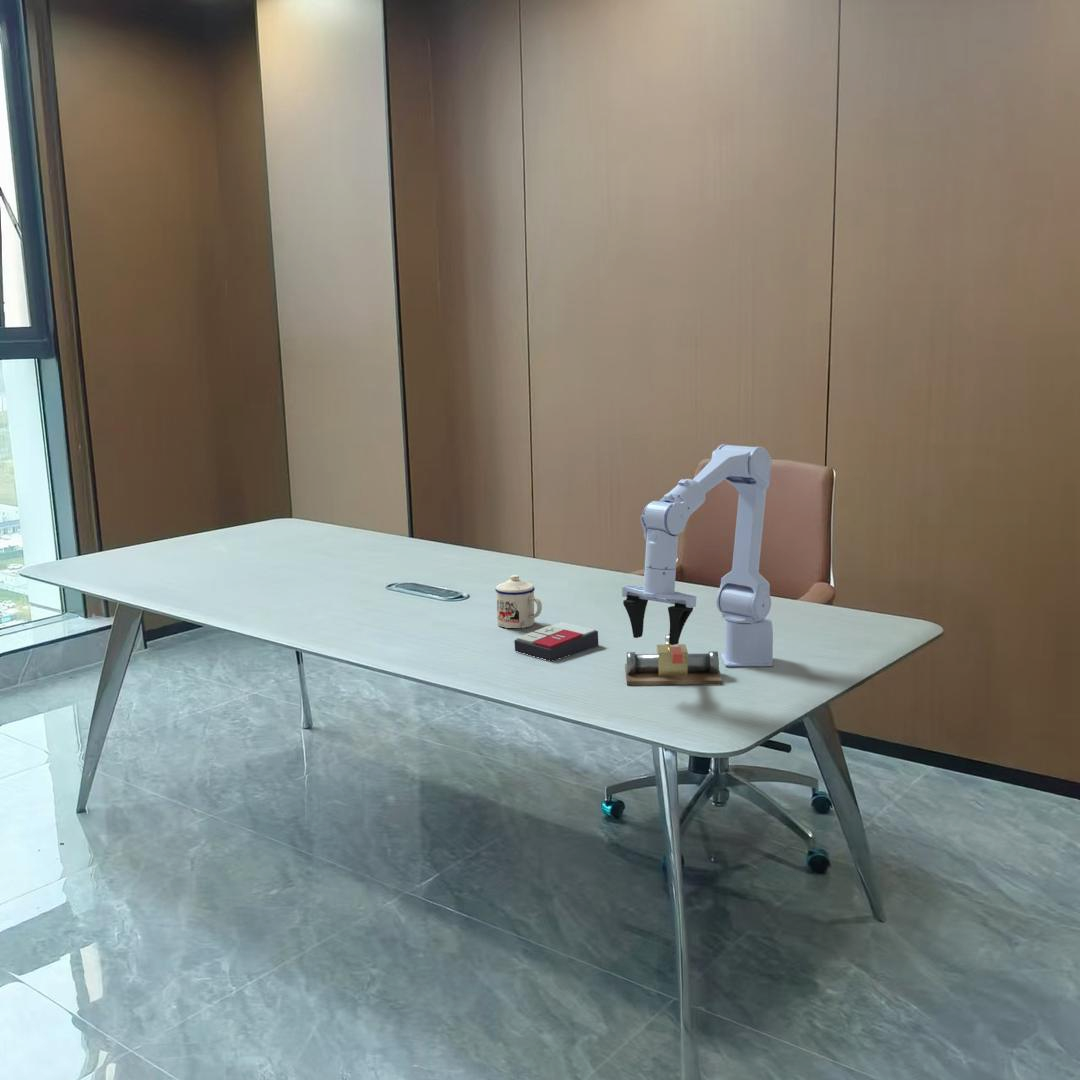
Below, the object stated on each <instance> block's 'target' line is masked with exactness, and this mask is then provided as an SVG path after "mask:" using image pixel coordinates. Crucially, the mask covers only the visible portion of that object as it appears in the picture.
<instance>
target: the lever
mask: <svg viewBox="0 0 1080 1080" xmlns="http://www.w3.org/2000/svg"><path fill="white" fill-rule="evenodd" d="M664 640H665V645H668V644H669V634H668V633H667V634H666V635H665V639H664ZM679 641H680V640H679ZM679 641H678V644H679V643H680V642H679ZM678 644H675V645H670V644H669V645H670V648H671V659H672V663H673V664H682V663H683V654H682V651H681V647H678Z"/></svg>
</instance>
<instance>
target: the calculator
mask: <svg viewBox="0 0 1080 1080" xmlns="http://www.w3.org/2000/svg"><path fill="white" fill-rule="evenodd" d="M597 647H599V631H598V630H596V629H593V628H590V627H586V626H581V625H577V624H574V623H569V622H564V621H561V622H557V623H555V624H552V625H547V626H543V627H542V628H539V629H536V630H534V631H531V632H528V633H525V634H523V635H520V636H518V637H517V638H515V639H514V652H515V651H518V652H521V653H525V654H528V655H531V656H530V657H532V656H535V657H534V658H536V657H539V658H543V659H546V660H545V661H547V660H550V661H549V662H553V661H552V660H555V661H557V660H556V659H558V660H560V659H559V658H561V659H563V657H564V658H566V657H565V656H567V657H569V656H568V655H570V656H572V655H575V654H577V653H580V652H583V651H587V649H588V650H591V649H593V648H594V649H595V648H597ZM521 653H520V654H521ZM525 654H524V655H525ZM528 655H527V656H528ZM539 658H538V659H539ZM543 659H542V660H543Z"/></svg>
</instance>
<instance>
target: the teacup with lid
mask: <svg viewBox="0 0 1080 1080" xmlns="http://www.w3.org/2000/svg"><path fill="white" fill-rule="evenodd" d="M509 578H510V579H507V580H505V581H504V582H502V583H499V584H498V585H496V587H495V592H496V614H497V618H496V619H497V625H498V627H500V626H501V627H500V628H502V627H505V628H504V629H507V628H522V629H527V628H530V627H532V626H533V625H534V624H535V618H537V617H539V616H540V615H541V613H542V609H543V605H542V602H541V601H542V600H541V599H539V598H538V597H536V596H535V594H534V593H535V590H536V589H535V585H534V584H533V583H530V582H526V581H525V580H523V579H520V577H519V575H518V574H513V575H510V577H509ZM535 603H536V607H537V608H536V611H535ZM526 627H527V628H526Z"/></svg>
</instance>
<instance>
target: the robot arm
mask: <svg viewBox="0 0 1080 1080" xmlns="http://www.w3.org/2000/svg"><path fill="white" fill-rule="evenodd" d="M771 471H772V457H771V455H770V453H769V452H768V450H767V449H766V448H765V447H763V446H747V445H746V446H745V445H732V444H727V443H721V444H720V445H718V446H717V448H716V449H714V450H713V451H712V453H711V460H710V461H709V462H708V463H707V464H706V465H705V466H704V467H703V468H702V469H701V470H700V471H699V472H698V473H697V475H695V477H694V478H686V479H683V478H681V479H680V480H679V481H678V482H677V483H678V484H677V485H676V486H675V487H673V488H672V489H671V490H670V491H669V492H668V493H666V494H664V495H663V497H662V498H660V499H659V501H658V500H652V501H651V502H650V503H648V504H647V505H646V506H645V507H644V509H643V511H642V513H641V514H642V515H640V524H641V527H642V528H643V538H644V541H646V542H645V557H644V572H643V586H637V585H636V586H635V585H629V584H628V585H622V587H621V589H622V590H621V597H623V598H626V599H624V600H623V601H622V603H623V607H624V608H625V610H626V613H627V615H628V618H629V621H630V626H631V630H632V637H633V638H635V639H638V638H641V637H643V634H644V622H645V614H646V610H647V605H648V601H652V602H658V603H664V604H670V605H671V606H667V612H668V616H669V618H668V619H669V644H670V645H675V644H678V641H680V637H681V635H682V631H683V629H684V626H685V624H686V622H687V620H688V619H689V617H690V615H691V614H692V612H693V611H694V607H697V596H696V595H691V594H687V593H682V592H679V591H675V588H676V577H677V576H676V573H677V563H678V562H677V560H678V559H677V558H678V549H679V548H678V547H679V546H678V544H679V535H680V534H681V533H683V532H684V531H685V528H686V526H687V522H688V520H689V519H690V517H691V515H692V514H694V512H696V511H697V510H698V509H699V508H701V506H702V505H703V504H704V503H705V502H706V499H707V498H706V496H707V495H706V494H707V493H708V492H709V491H711V490H712V489H714V488H715V487H716V486H718V485H719V484H721V482H723V481H724V480H725V481H726V482H727V483H728V484H730V485H732V486H733V487H734V489H735V490H736V491H737V492H738V501H737V502H738V503H737V512H736V513H737V514H736V523H735V534H734V543H733V544H734V545H733V554H732V557H733V558H732V565H731V570H730V571H729V572H728V573H726V574H725V575H723V576H722V577H721V579H720V584H719V585H720V586H719V589H718V591H717V594H716V597H715V598H716V600H715V602H716V607H717V611H719V612H720V613H721V618H723V619H724V620H725V621H724V652H721V653H720V656H721V658H722V662H723V663H724V666H725V667H773V666H774V664H773V663H774V662H773V659H774V657H773V654H774V653H773V651H774V650H773V646H774V632H773V623H772V620H771V619H770V618H766V617H767V616H768V615H769V614H770V611H771V607H772V598H771V594H770V592H771V591H770V587H771V583H770V582H769V581H768V580H767V579H766V578H765V577H764V576H763V575H762V574H761V573H760V572H759V570H760V559H761V550H762V541H763V539H762V538H763V529H764V518H765V508H766V496H767V489H768V488H769V487H770V480H771Z"/></svg>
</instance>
